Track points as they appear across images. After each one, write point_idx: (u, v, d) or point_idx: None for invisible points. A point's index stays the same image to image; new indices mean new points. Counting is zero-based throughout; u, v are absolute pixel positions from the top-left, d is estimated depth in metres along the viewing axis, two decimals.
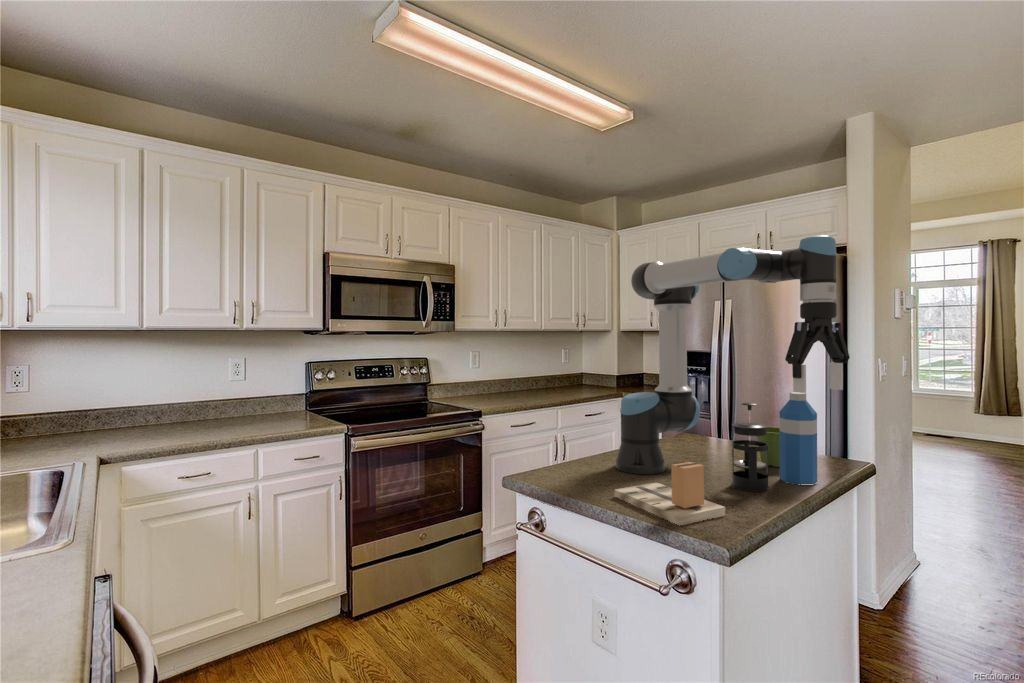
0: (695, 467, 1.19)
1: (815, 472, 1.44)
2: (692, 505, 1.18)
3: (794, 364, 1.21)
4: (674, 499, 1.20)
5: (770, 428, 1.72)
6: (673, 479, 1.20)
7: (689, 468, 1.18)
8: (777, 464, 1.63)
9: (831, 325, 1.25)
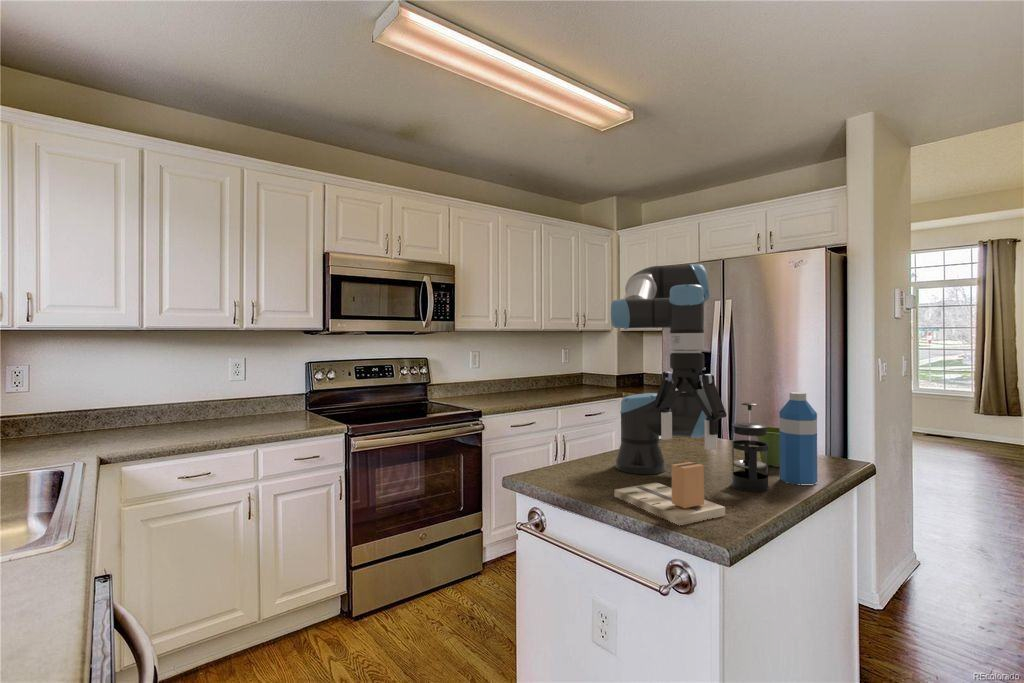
0: (695, 467, 1.19)
1: (815, 472, 1.44)
2: (692, 505, 1.18)
3: None
4: (674, 499, 1.20)
5: (770, 428, 1.72)
6: (673, 479, 1.20)
7: (689, 468, 1.18)
8: (777, 464, 1.63)
9: (694, 377, 1.17)
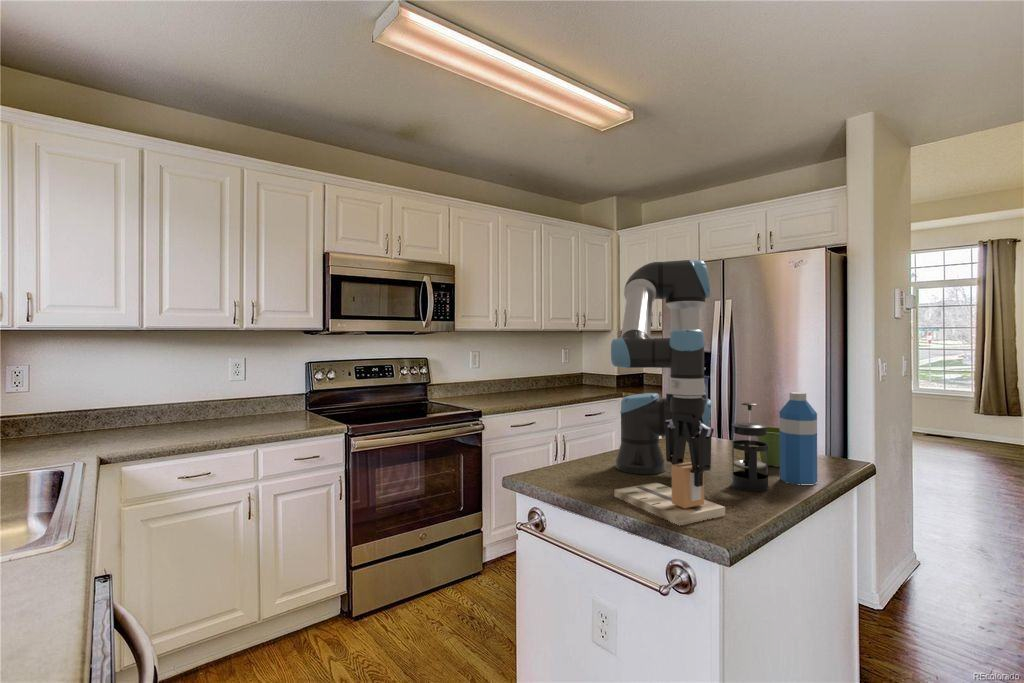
0: None
1: (815, 472, 1.44)
2: (692, 505, 1.18)
3: None
4: (674, 499, 1.20)
5: (770, 428, 1.72)
6: (673, 479, 1.20)
7: (689, 468, 1.18)
8: (777, 464, 1.63)
9: (694, 423, 1.17)
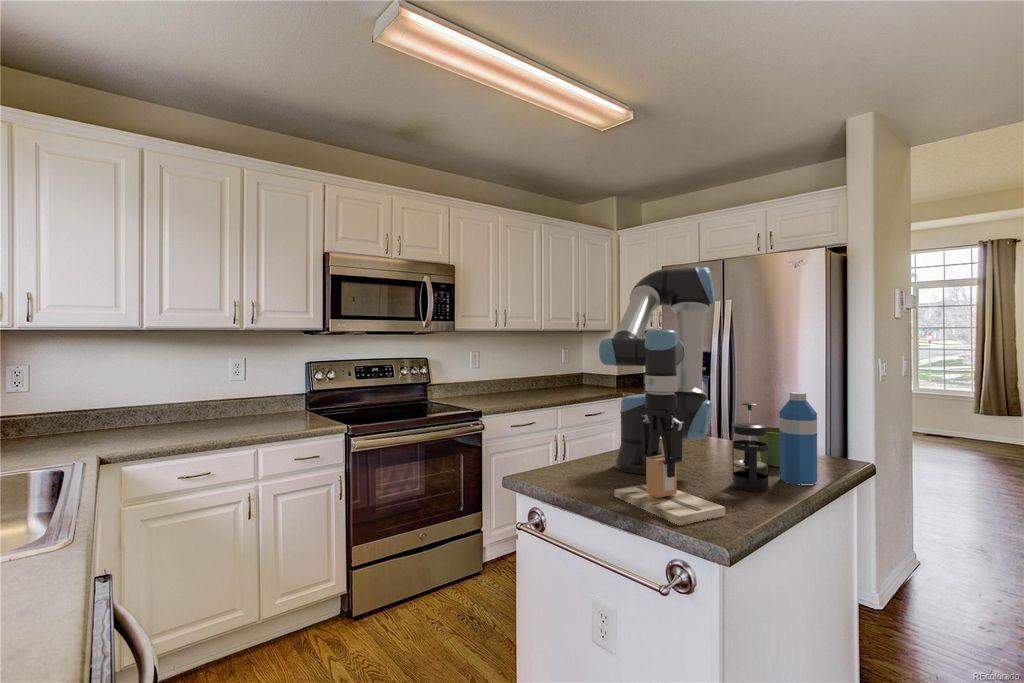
0: None
1: (815, 472, 1.44)
2: (665, 495, 1.26)
3: None
4: (648, 489, 1.28)
5: (770, 428, 1.72)
6: (648, 470, 1.28)
7: (662, 460, 1.26)
8: (777, 464, 1.63)
9: (667, 418, 1.25)
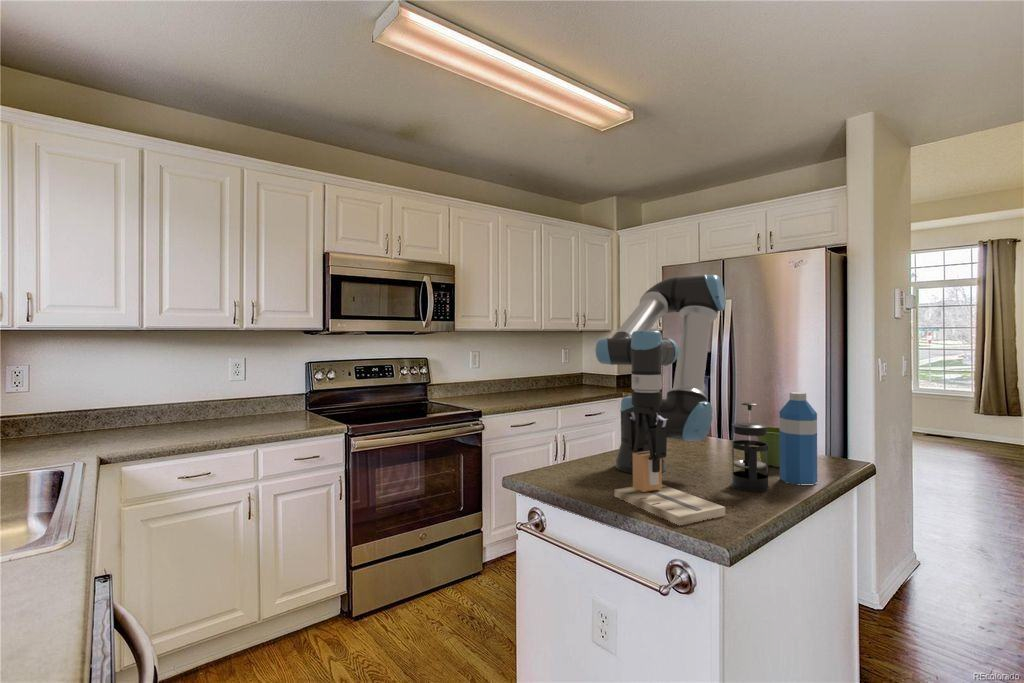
0: None
1: (815, 472, 1.44)
2: (650, 489, 1.31)
3: None
4: (635, 484, 1.33)
5: (770, 428, 1.72)
6: (634, 466, 1.33)
7: (647, 456, 1.31)
8: (777, 464, 1.63)
9: (652, 415, 1.29)
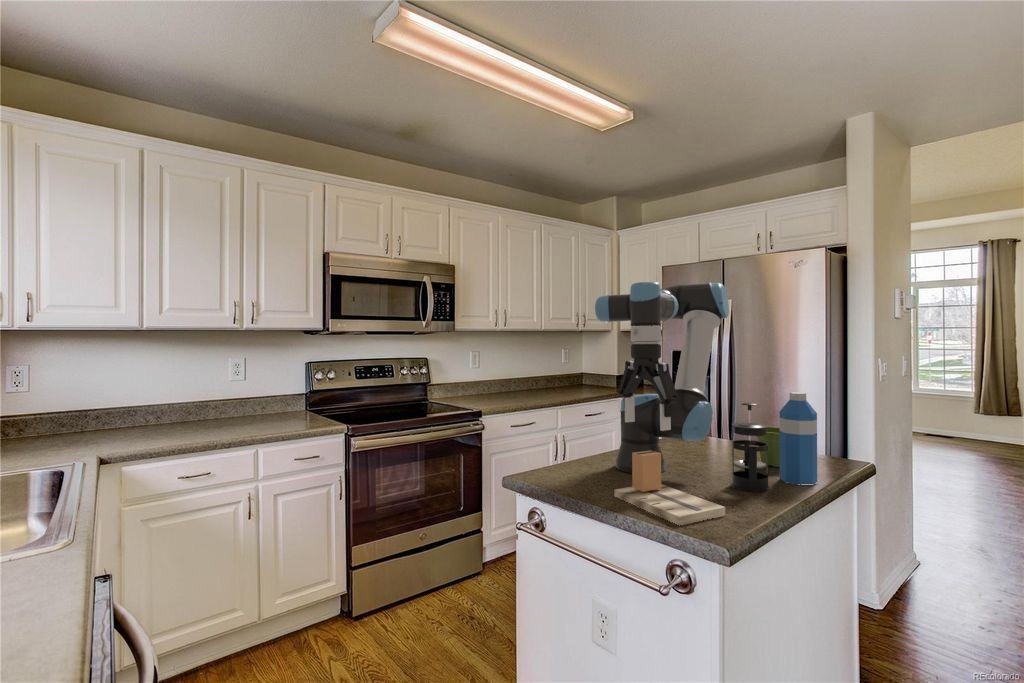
0: (653, 455, 1.32)
1: (815, 472, 1.44)
2: (650, 489, 1.31)
3: None
4: (634, 484, 1.33)
5: (770, 428, 1.72)
6: (633, 466, 1.33)
7: (647, 455, 1.31)
8: (777, 464, 1.63)
9: (651, 365, 1.30)
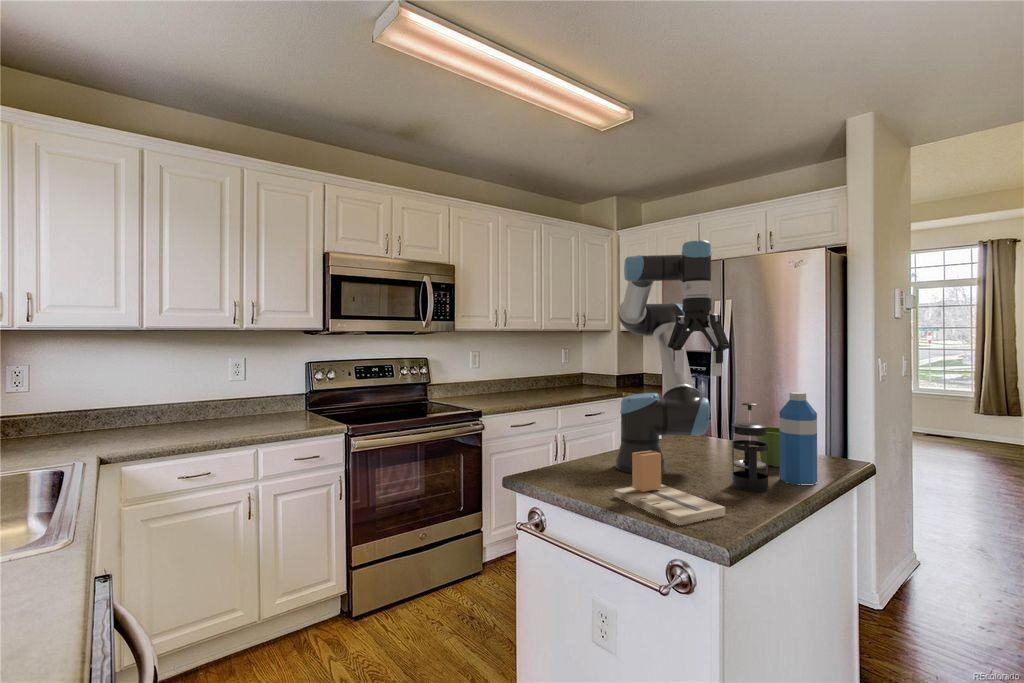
0: (653, 455, 1.32)
1: (815, 472, 1.44)
2: (650, 489, 1.31)
3: None
4: (634, 484, 1.33)
5: (770, 428, 1.72)
6: (633, 466, 1.33)
7: (647, 455, 1.31)
8: (777, 464, 1.63)
9: (703, 317, 1.40)
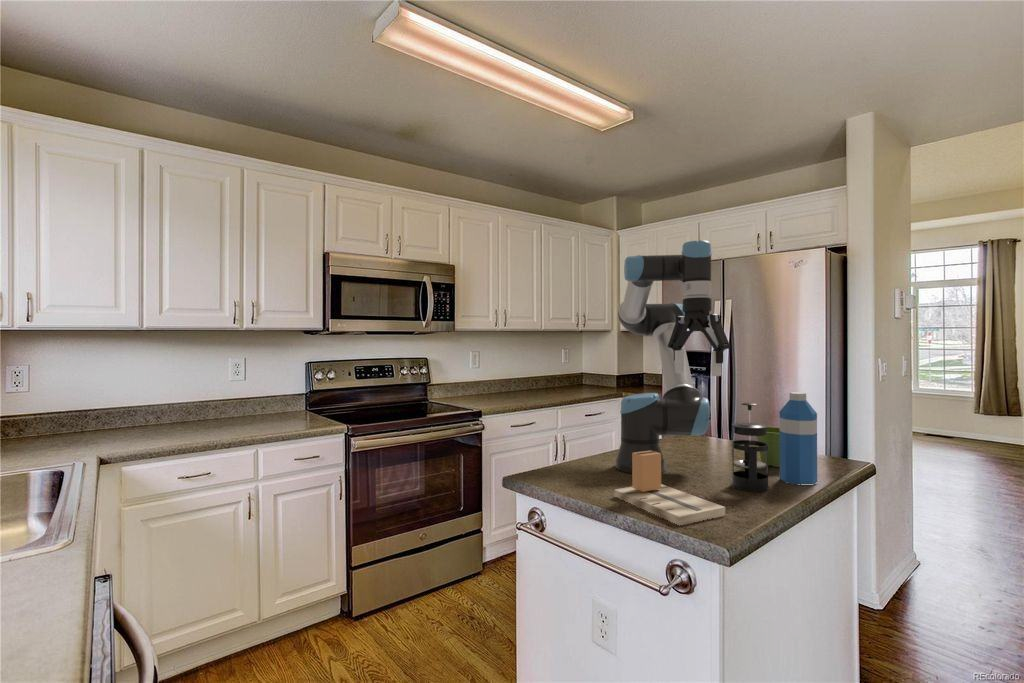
0: (653, 455, 1.32)
1: (815, 472, 1.44)
2: (650, 489, 1.31)
3: None
4: (634, 484, 1.33)
5: (770, 428, 1.72)
6: (633, 466, 1.33)
7: (647, 455, 1.31)
8: (777, 464, 1.63)
9: (703, 317, 1.40)
